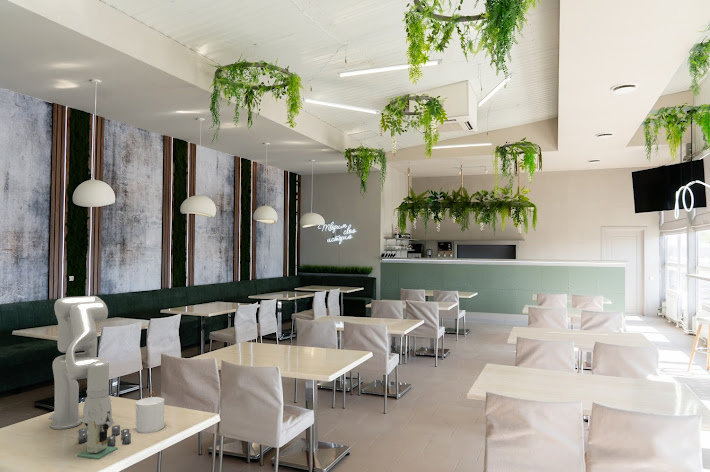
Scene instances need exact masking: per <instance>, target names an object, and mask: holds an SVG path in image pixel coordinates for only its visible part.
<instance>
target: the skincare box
mask: <svg viewBox="0 0 710 472" xmlns="http://www.w3.org/2000/svg"><path fill="white" fill-rule="evenodd" d="M104 426H105V425H104ZM108 430H109V429H108ZM108 430H107V432H109V431H108ZM100 432H101V429H100V425H97V424H96V423H95V421H88V430H87V443H86V444H87V446H86V450H87V452H91V453H97V452H99V451H101V450H103V449H105V448H107V440H105V441H103V442H100Z"/></svg>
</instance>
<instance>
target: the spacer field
mask: <svg viewBox="0 0 710 472" xmlns="http://www.w3.org/2000/svg"><path fill="white" fill-rule="evenodd" d="M131 435H132V433H131V431H130V428H124V429H123V428H122V429H121V425H119V424H116V425H111V435H109V436H107V446H109V447H116V438H117V437H118V436H120V439H121V445H129V444H131V442H132V441H131V440H132V439H131V437H132V436H131ZM87 442H88V430H87V427H84V428H79V429H78V444H79V445H83V444H87Z"/></svg>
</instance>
